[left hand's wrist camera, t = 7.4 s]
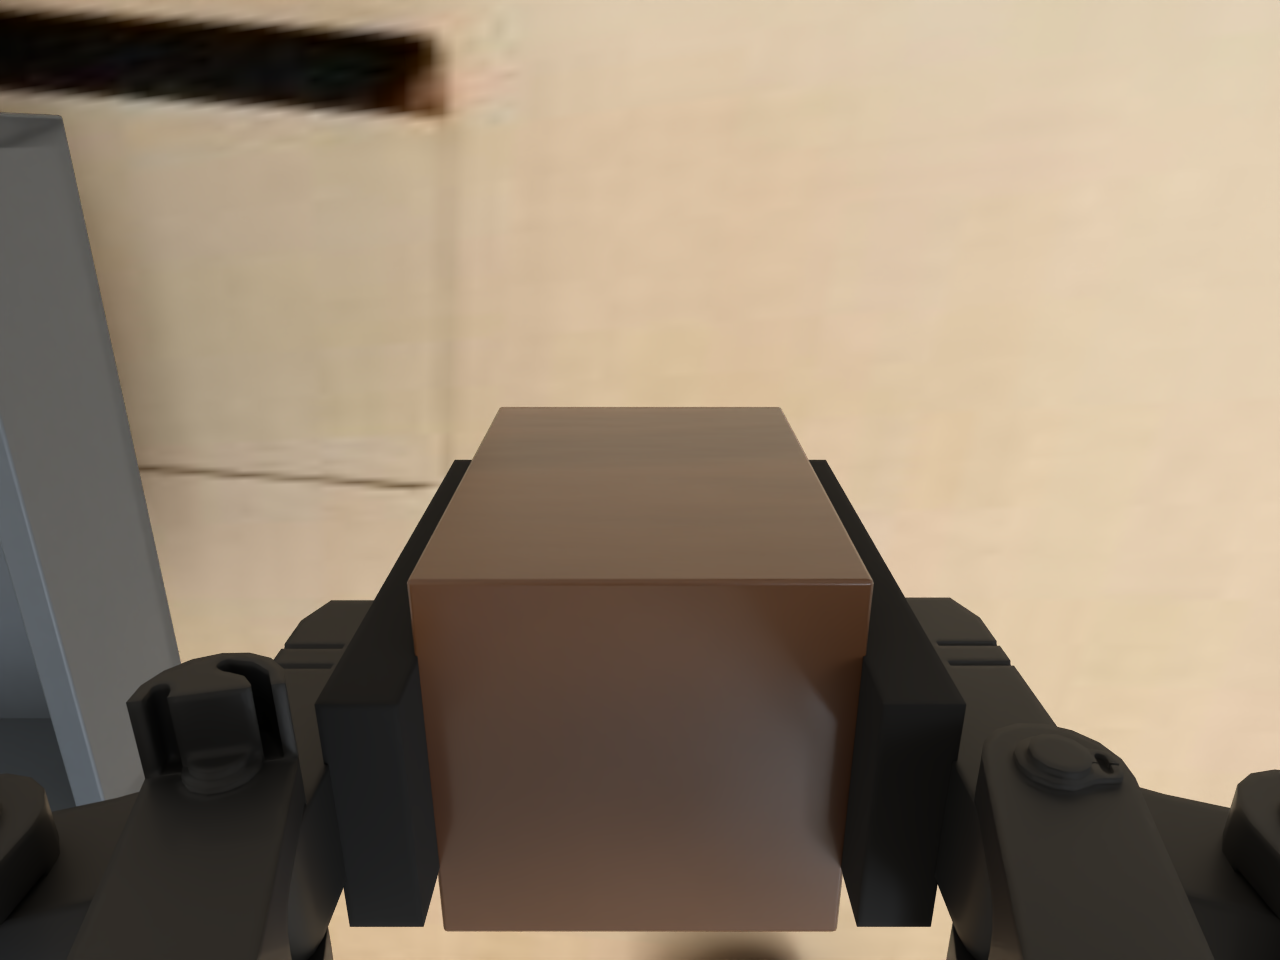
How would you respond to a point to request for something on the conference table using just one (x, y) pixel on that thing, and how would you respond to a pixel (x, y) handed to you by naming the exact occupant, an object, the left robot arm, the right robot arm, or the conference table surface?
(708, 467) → the block
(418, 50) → the conference table surface
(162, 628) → the tray
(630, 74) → the conference table surface
